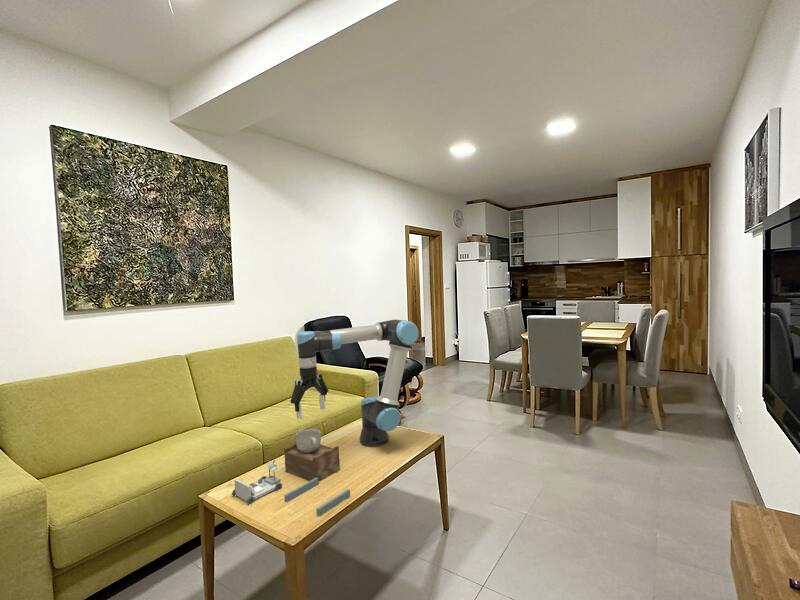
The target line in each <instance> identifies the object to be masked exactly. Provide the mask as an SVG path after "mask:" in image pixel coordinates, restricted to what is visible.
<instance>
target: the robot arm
mask: <svg viewBox="0 0 800 600" xmlns="http://www.w3.org/2000/svg"><path fill="white" fill-rule="evenodd" d="M419 334H420V333H419V329H418V327H417V325H416V324H415V322H413V321H410V320H405V319H390V320H389V319H388V320H385V321H378V322H375V323H374V324H371V325H363V326H356V327H355V326H353V327H348V328H338V329H331V330H330V329H329V330H323V331H322V330H321V331H320V330H316V331H311V330H309V331H308V330H307V331H301V332H298V333H297V341H296V344H297V352H298V366H299V376H300V379H299V380H298V379H295V381H294V387H293V391H292V396H291V398H290V401H289V403H290V404H294V411H295V413H296V419H299V420H303V411H302V407H303V406H302V403H301V401H302V399H303V397H304V395H305V393H306V391H307V390H308V389H311V388H313V387H314V388H315V389H316V391H317V392H318V393H319V395H318V399H319V410H326V403H325V402H326V396H327V394H328V393H329V389H328V387H327V385H326V382H325V381H324V378H323V374H322V373H318V366H317V354H316V353H318V352H325V351H335V350H337V349H341V348H342V345H344V344H352V343H359V342H366V341H374V340H376V341H378V342H381V341H387V342H389V343H388V346H389V347H390V351H389V356H388V360H387V365H386V369H385V373H384V378H383V382H382V386H381V392H380V395H373V396H367V397H364V398H362V399H361V400H360V401H361V402H360V408H361V422H362V423H361V424H362V428H361V431H360V436H359V443H360V445H361V446H364V447H379V446H383V445H386V444H387V443H388V442H389V440H390V437H389V436H390V435H389V433H388V432H391V431H394V429H396V428H397V427H398V426H399V424H400V423H401V420H402V416H401V412H400V410H399V407H400V403H399V401H398V398H399V393H400V390H401V389H400V388H401V384H402V380H403V375H404V370H405V366H406V361H407V357H408V352H409V351H411V350H412V348H413V345H414V344H415V343H416V342H417V341H418V339H419V337H420V335H419Z"/></svg>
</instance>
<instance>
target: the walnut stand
mask: <svg viewBox="0 0 800 600" xmlns="http://www.w3.org/2000/svg"><path fill="white" fill-rule="evenodd" d="M283 452H284V453H283V454H284V465H285V467H284V468H285V469H284V470H285V472H286V473H288V474H291V475H293V476H296V477H298V478H301V479H304V480H306V481H308V482H309V481H311V480H313V479H315V478H318V482H321V481H323V480H324V479H327V478H328V477H330V476H331V475H333V474H335V473H337V472H339V471H341V463H340V462H341V461H340V446H338V445H336V446H334V447H330V446H327V445H324V444H320V446H319V448H318V449H317V450H316V451H314V452H310V453H304V452H301V451H300V450H299V449H298V448H297V443H294V444H292V445H291V444H290V445H289V446H287V447H284V451H283Z"/></svg>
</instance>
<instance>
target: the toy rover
mask: <svg viewBox="0 0 800 600" xmlns="http://www.w3.org/2000/svg"><path fill="white" fill-rule="evenodd" d="M275 462H276V459H274V460H273V462H272V461H270V460H268V465H267V466H268V467H267V468H268V472H269V473H268V474H269V475H268V477H267V476H265V475H263V476H261V477H260V478H259V479H258V481H256V482H251V483H249V484H248V483H247V482H244V481H242V480H240V479H238V478H236V479H233V480H234V489H233V490H232V492H231V496H232V497H234V496H235V495H237V496H235V497H238V498H240V499H242V500H244V501H246V504H247V505H248V506H250V505H252V504H254V503H255V500H256V499H258V498H260V497H262V496H265V495H267V494H268V493H271V492H273V491H277V492H279V490H282V489H283V483H281V478H279V477H276V475H275V472H276V471H277V470H278V467H277V466H278V465H277V464H276V463H275ZM271 473H273V475H271ZM253 502H254V503H253ZM251 503H252V504H251ZM249 504H250V505H249Z"/></svg>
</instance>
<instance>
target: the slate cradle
mask: <svg viewBox="0 0 800 600" xmlns="http://www.w3.org/2000/svg"><path fill="white" fill-rule="evenodd" d="M319 482H320V481H319ZM319 482H318V478H315V479H313V480H311V481H309V480H308V481H307V482H306V483H304V484H302V485H300V486H298V487H297V488H294V489H293V490H291V491H289V492H287V493H285V494H284V502H285V503H288V502H290V501H291V500H293V499H295V498H297V497H298V496H300V495H302V494H304V493H306V492H307V491H309V490H311V489H313V488H315V487H316V486H318V485H319ZM349 496H350V497H351V489H349V488H347V489H346V490H344V491H342V492H341V493H339V494H337V495H335V496H334V497H332V498H331V499H329V500H328V501H326V502H324V503H323V504H321V505H320V506H318V507H317V508H316V509H315V510H316V517H321V516H323V513H324V514H326V513H327V512H329V511H330V510H332V509H333V508H335V507H336V506H337V505H339V504H340V502H341V503H342V502H343V500H344V501H345V500H347V499H348V498H350V497H349ZM346 498H347V499H346ZM320 515H321V516H320Z"/></svg>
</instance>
